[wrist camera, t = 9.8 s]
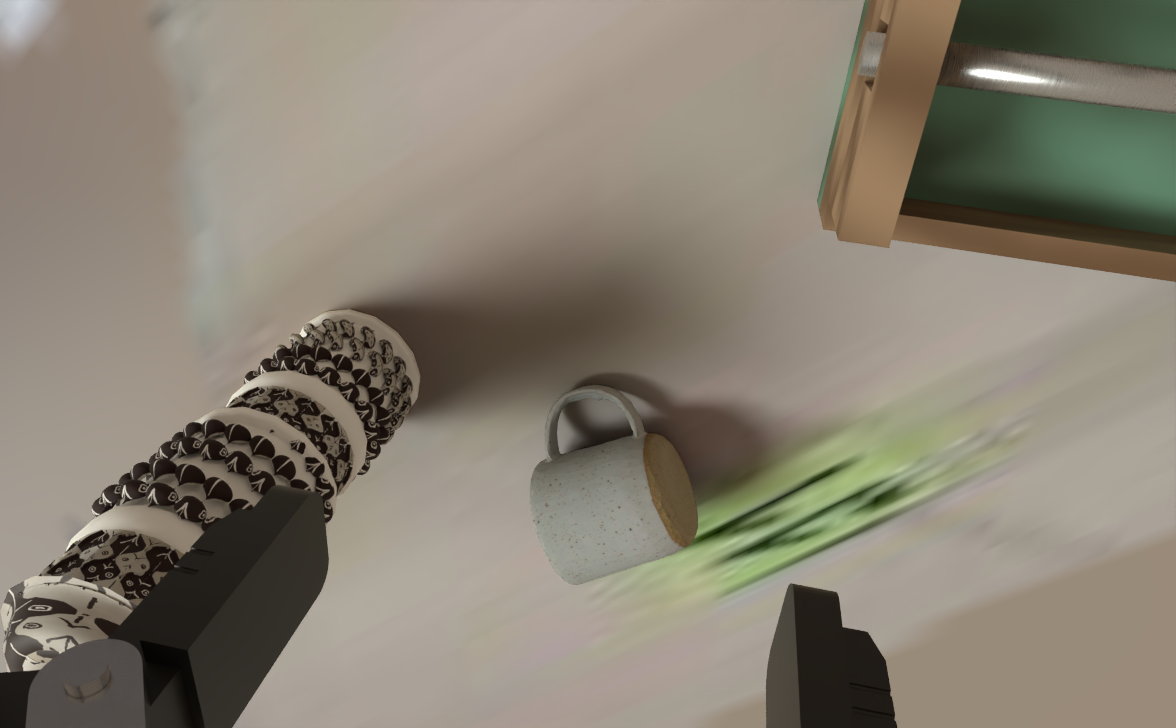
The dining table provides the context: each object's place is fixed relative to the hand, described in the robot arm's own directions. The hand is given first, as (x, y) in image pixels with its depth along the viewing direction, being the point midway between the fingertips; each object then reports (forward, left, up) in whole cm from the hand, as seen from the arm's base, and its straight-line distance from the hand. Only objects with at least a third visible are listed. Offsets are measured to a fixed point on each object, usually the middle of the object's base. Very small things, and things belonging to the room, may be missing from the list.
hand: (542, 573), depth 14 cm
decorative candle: (+17, -18, -32) cm, 41 cm away
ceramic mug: (+20, -2, -32) cm, 38 cm away
